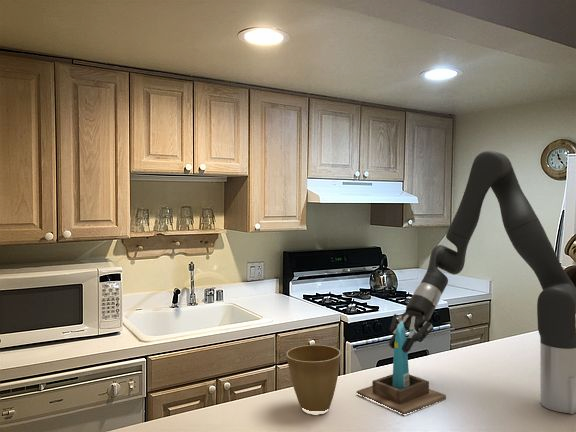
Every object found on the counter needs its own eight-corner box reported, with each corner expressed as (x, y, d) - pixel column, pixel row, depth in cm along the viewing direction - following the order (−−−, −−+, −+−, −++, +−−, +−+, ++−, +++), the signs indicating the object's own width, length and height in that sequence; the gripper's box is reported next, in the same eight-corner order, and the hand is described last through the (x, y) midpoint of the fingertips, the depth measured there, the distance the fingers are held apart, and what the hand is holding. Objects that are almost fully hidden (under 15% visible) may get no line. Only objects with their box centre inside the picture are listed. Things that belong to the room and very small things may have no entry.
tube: (394, 383, 144) (393, 319, 144) (410, 384, 143) (410, 320, 142) (390, 392, 137) (390, 326, 137) (408, 394, 136) (407, 327, 135)
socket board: (446, 399, 138) (446, 382, 138) (404, 416, 127) (404, 398, 127) (397, 380, 152) (397, 366, 152) (356, 395, 142) (356, 379, 142)
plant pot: (327, 395, 142) (326, 341, 142) (351, 416, 128) (350, 356, 128) (279, 403, 137) (278, 348, 136) (299, 426, 123) (298, 364, 122)
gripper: (399, 290, 150) (372, 336, 143) (438, 297, 138) (411, 347, 131) (411, 304, 153) (385, 350, 146) (449, 312, 141) (423, 362, 135)
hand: (397, 348), depth 139 cm, fingers closed on tube, 4 cm apart
